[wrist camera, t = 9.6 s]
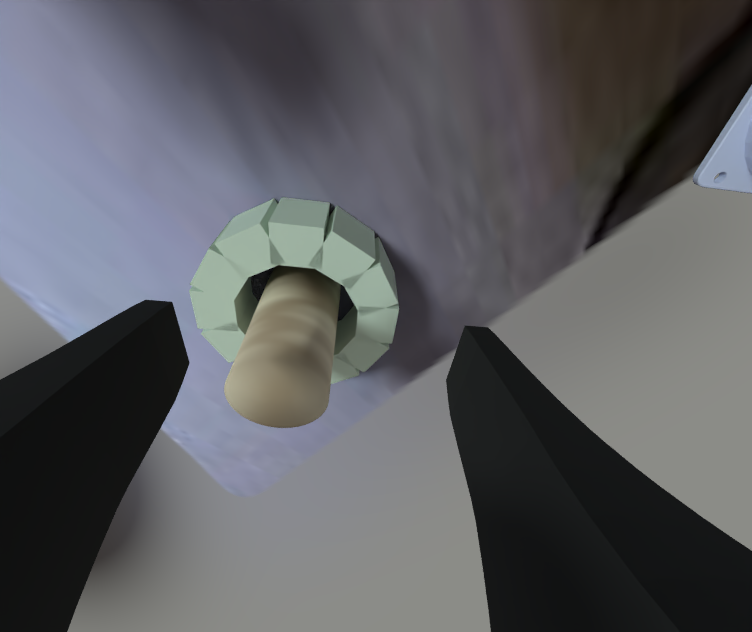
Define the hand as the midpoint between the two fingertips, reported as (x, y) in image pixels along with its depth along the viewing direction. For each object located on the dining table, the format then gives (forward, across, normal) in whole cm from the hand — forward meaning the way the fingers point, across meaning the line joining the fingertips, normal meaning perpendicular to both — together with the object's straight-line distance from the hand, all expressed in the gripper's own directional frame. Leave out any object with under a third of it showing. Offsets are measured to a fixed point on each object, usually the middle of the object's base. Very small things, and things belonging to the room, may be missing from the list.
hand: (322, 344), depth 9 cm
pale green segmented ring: (+10, +2, +5) cm, 12 cm away
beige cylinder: (+10, +2, +5) cm, 12 cm away
